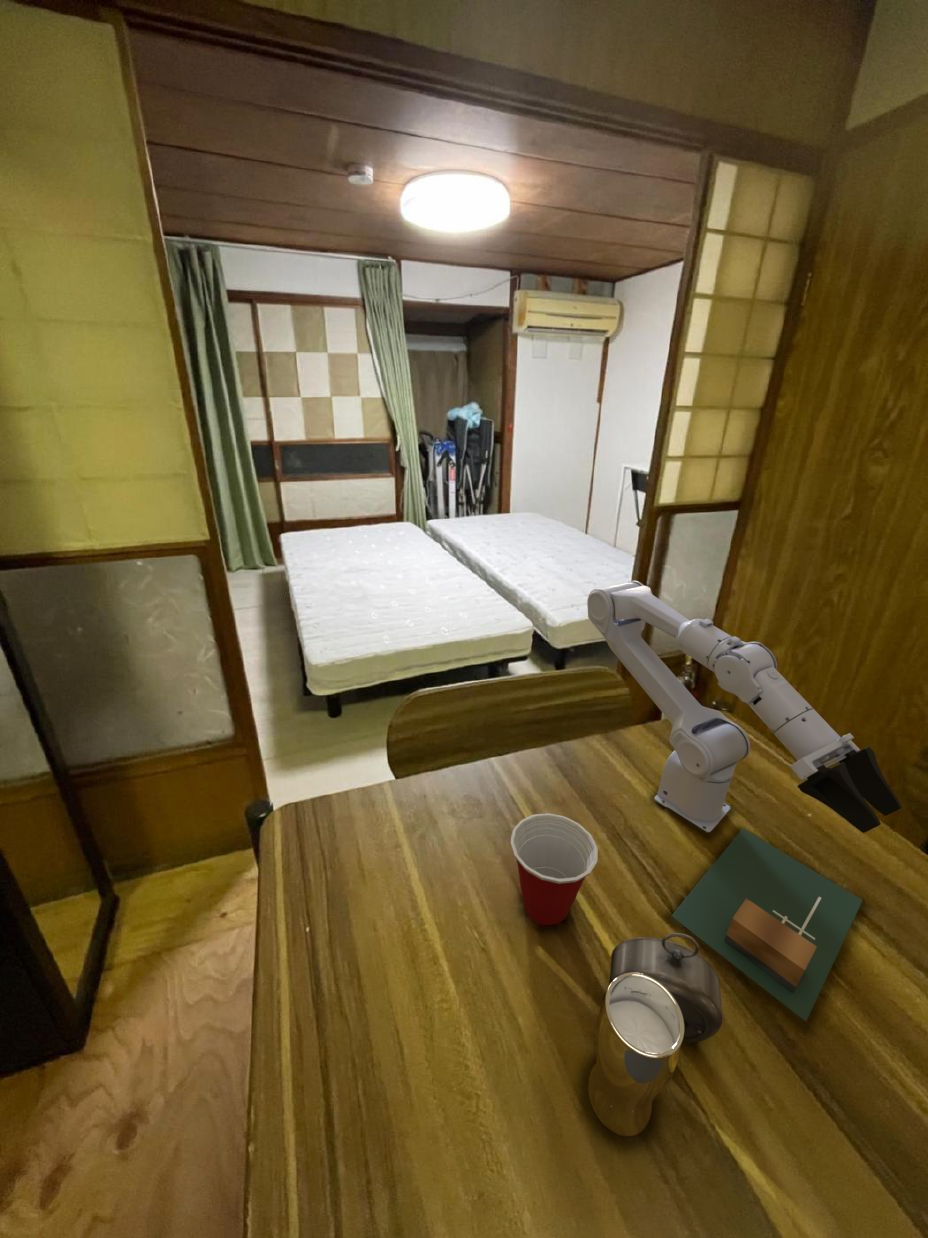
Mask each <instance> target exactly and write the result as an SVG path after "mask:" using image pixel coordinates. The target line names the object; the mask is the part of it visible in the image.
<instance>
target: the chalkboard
mask: <svg viewBox="0 0 928 1238" xmlns="http://www.w3.org/2000/svg"><path fill="white" fill-rule="evenodd" d="M746 898H747V899H748V900H750V901H751V902H753V903H754V904H755V905H757V906H758V907H760V908H761V909H763V910H764V911H766V912H767V913H769V914H770V915H772V916H773V917H774V918H776V919H777V920H779V921H780V922H782V923H783V924H785V925H786V926H788V927H789V928H790V929H792V930H793V931H795V932H796V933H798V934H799V935H801V936H802V937H804V938H805V939H807V940H808V941H809V942H811V943H812V944H814V945H815V946H817V948H816V950H815V952H814V954H813V956H812V958H811V960H810V962H809V964H808V966H807V968H806V970H805V972H804V974H803V976H802V977H801V979H800V981H799V983H798V985H797V987H796V989H795V991H794V993H792V992H791V991H790V990H788V989H787V988H786V987H784V986H783V985H782V984H780V983H779V982H778V981H776V980H775V979H774V978H772V977H771V976H770V975H768V974H767V973H766V972H765V971H763V970H762V969H761V968H759V967H758V966H757V965H755V964H754V963H753V962H751V961H750V960H749V959H747V958H746V957H745V956H744V955H742V954H741V953H740V952H738V951H737V950H736V949H734V948H733V947H732V946H730V945H729V944H728V943H726V942H725V941H724V939H725V937H726V934H727V931H728V929H729V926H730V924H731V921H732V918H733V917H734V915H735V914H736V912H737V911H738V910H739V908H740V907H741V905H742V904H743V902H744V901H745V899H746ZM863 901H864V900H863V899H862V898H860V897H858V896H857V895H855V894H853V893H852V892H850V891H849V890H847V889H845V888H843V887H841V886H840V885H838V884H836V883H835V882H833V881H832V880H830V879H828V878H827V877H825V876H823V875H821V874H820V873H818V872H816V870H813V869H812V868H811V867H809V866H807V865H805V864H803V863H802V862H800V861H798V860H797V859H795V858H793V857H792V856H790V855H789V854H786V853H785V852H783V851H782V850H780V849H778V848H777V847H775V846H773V845H771V844H770V843H768V842H767V841H765V840H763V839H762V838H760V837H758V836H757V835H755V834H753V833H752V832H751V831H749V830H747V829H745V828H743V827H742V828H741V830H739V832H738V834H737V835H736V836H735V837H734V838H733V839H732V841H731V842H730V843H729V844H728V845H727V847H726V848H725V849H724V850H723V852H722V853H721V854H720V856H719V857H718V858H717V859H716V860H715V862H714V863H713V864H711V866H710V868H709V869H708V870H707V871H706V873H705V874H704V875H703V877H701V879H700V880H699V882H697V884H696V885H695V886H694V888H693V889H692V890H691V891H690V892H689V894H687V896H686V897H685V898H684V900H683V901H682V902H681V904H680V905H679V906H678V908H676V910H675V911H674V912H673V914H672V915H671V917H672V918H673V919H674V920H675V921H676V922H677V923H679V924H681V925H682V926H683V927H684V928H686V929H687V930H689V931H690V933H692V934H693V935H695V936H696V937H697V938H699V940H701V941H702V942H704V943H705V944H706V945H707V946H709V947H710V948H711V949H712V950H713V951H715V952H716V953H718V954H719V955H720V956H722V957H723V958H724V959H725V960H727V961H728V962H729V963H730V964H731V965H733V966H734V967H736V968H737V969H738V971H741V972H742V973H743V974H744V975H745V976H747V977H748V978H749V979H751V980H752V981H753V982H754V983H756V984H757V985H758V986H760V987H761V988H762V989H764V991H766V992H767V993H769V994H770V995H771V996H773V997H774V998H775V999H777V1000H778V1001H779V1002H780V1003H781V1004H783V1006H785V1007H786V1008H788V1009H789V1010H790V1011H792V1012H793V1013H794V1014H795V1015H797V1016H798V1017H799V1018H800V1019H802V1021H805V1022H807V1021H808V1020H809V1019H808V1018H809V1016H810V1014H811V1012H812V1010H813V1008H814V1006H815V1004H816V1001H817V999H818V997H819V996H820V993H821V991H822V989H823V987H824V984H825V983H826V980H827V978H828V976H829V974H830V972H831V969H832V967H833V965H834V963H835V961H836V959H837V957H838V955H839V953H840V950H841V948H842V947H843V944H844V942H845V940H846V937H847V936H848V933H849V931H850V929H851V927H852V925H853V923H854V921H855V918H856V916H857V914H858V912H859V910H860V908H861V905H862V904H863Z"/></svg>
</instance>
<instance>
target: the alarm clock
mask: <svg viewBox="0 0 928 1238" xmlns="http://www.w3.org/2000/svg"><path fill="white" fill-rule="evenodd" d="M676 937H678V938H683V939H687V940H689V941H690V942H692V944H694V946H695V950H693V949H691V948H689V947H687V946H685V945H683V944H680V943H677V942H674V941H671V940H668V939H671V938H676ZM699 952H700V945H699V943H698V941H697V940H696V939H695V938H694V937H692V936H691V935H688V934H686V933H681V932H671V933H667V934H666V935H664V936H663V937H662V938H657V937H648V936H647V937H646V936H645V937H640V936H639V937H633V938H632V937H631V938H629V939H626V940H623V941H621V942H620V943H619V944H617V945H616V946H615V947H614V949H613V950H612V952H611V955H610V968H609V969H610V971H609V980H608V981H609V982H608V987H609V986H610V984H611V983H612V981H613V980H614V979H615V978H617V977H618V976H620V975H622V974H625V973H641V974H645V975H647V976H650V977H652V978H654V979H655V980H657V981H658V982H660V983H661V984H662V985H663V986H665V987H666V988H667V989H668V991H669V992H670V993H671V994H672V995H673V997H674V998H675V1000H676V1001H677V1003H678V1005H679V1007H680V1010H681V1012H682V1015H683V1020H684V1037H683V1041H682V1043H698V1042H702V1041H705V1040H708V1039H710V1038H712V1037H713V1036H715V1035H716V1034H717V1033H718V1032H719V1030H720V1029H721V1027H722V1024H723V1017H724V1016H723V1015H724V1014H723V1005H722V993H721V992H722V991H721V980H720V977H719V974H718V973H717V970H716V969H715V968H714V967H713V966H712V964H711V963H710V962H709V961H708V960H707V959H706V958H705V957H703V956H702V955H700V954H699Z"/></svg>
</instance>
